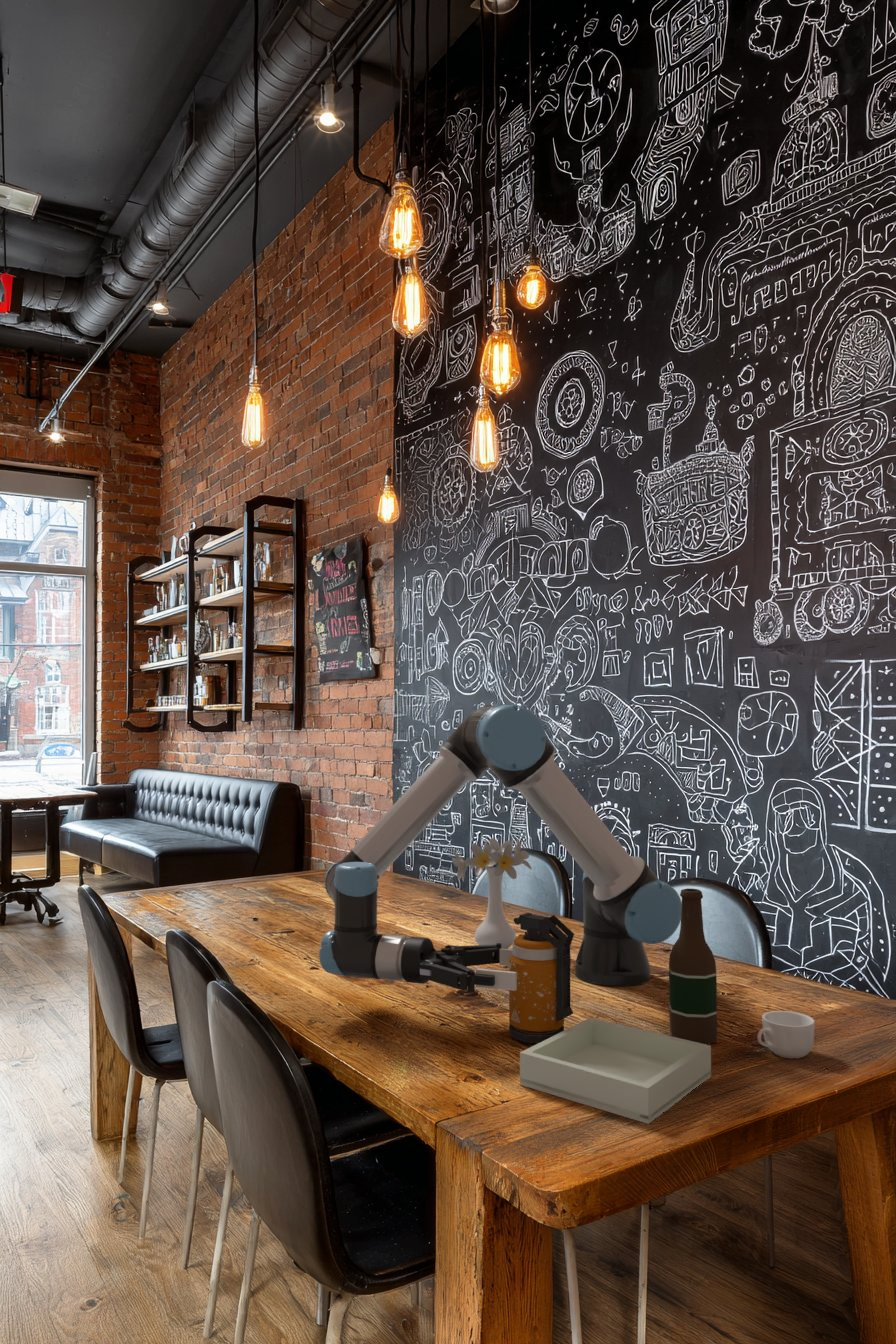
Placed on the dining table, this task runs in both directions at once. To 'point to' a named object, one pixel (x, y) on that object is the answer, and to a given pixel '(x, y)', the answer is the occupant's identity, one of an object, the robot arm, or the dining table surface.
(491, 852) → the flower vase
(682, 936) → the beer bottle
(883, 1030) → the dining table surface
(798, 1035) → the teacup
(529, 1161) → the dining table surface
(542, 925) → the canister
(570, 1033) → the tray
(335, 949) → the robot arm
